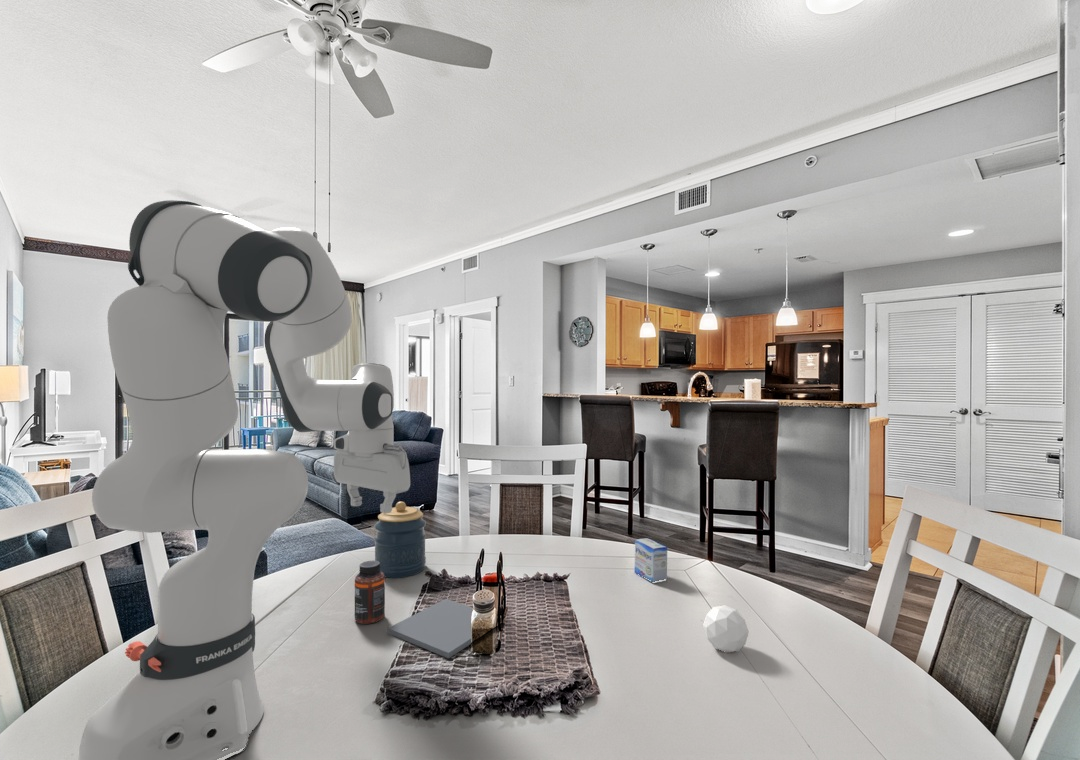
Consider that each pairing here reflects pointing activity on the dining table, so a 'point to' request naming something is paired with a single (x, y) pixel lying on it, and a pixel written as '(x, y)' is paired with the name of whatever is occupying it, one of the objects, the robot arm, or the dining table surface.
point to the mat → (438, 628)
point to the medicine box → (650, 559)
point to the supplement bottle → (369, 593)
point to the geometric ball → (725, 628)
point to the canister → (400, 541)
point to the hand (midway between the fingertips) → (370, 509)
